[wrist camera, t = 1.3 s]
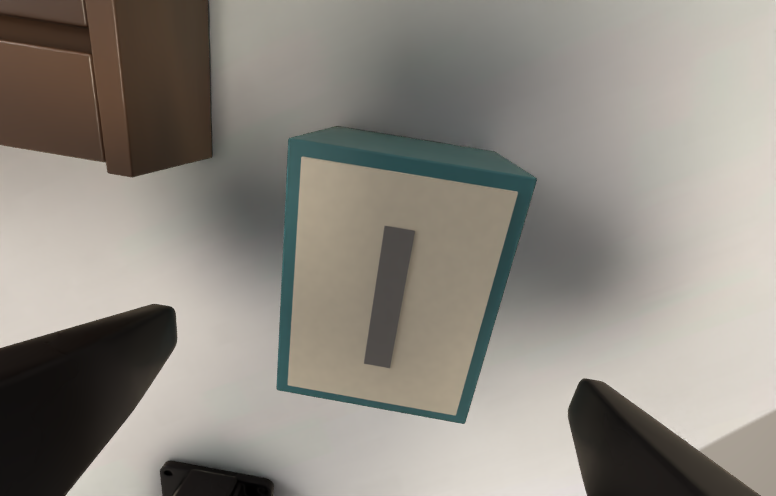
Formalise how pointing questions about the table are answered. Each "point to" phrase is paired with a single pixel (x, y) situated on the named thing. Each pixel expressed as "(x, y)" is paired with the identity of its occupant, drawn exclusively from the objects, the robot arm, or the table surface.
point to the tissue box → (394, 268)
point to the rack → (107, 81)
